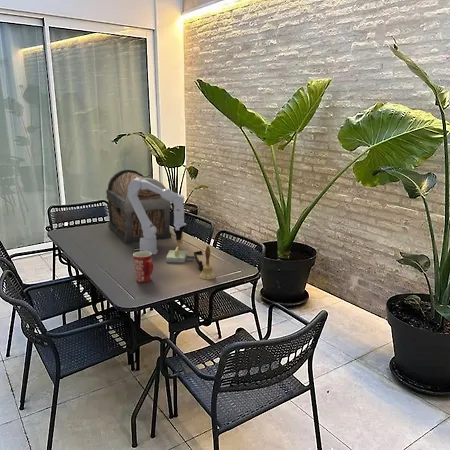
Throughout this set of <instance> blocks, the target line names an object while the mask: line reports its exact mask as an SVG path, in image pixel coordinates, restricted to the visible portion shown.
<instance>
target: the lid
mask: <svg viewBox="0 0 450 450" xmlns="http://www.w3.org/2000/svg"><path fill="white" fill-rule="evenodd" d="M186 253H187V254H188V250H180V246H176V247H175V250H171V249H169V251H168V253H167V255H166V258H165V260H166V259H185V256H186Z"/></svg>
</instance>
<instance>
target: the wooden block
mask: <svg viewBox="0 0 450 450" xmlns="http://www.w3.org/2000/svg"><path fill="white" fill-rule="evenodd" d="M183 243H184V230H183V231H182V235H181V240H177V239H176V238H175V244H177V245H179V244H180V245H182V244H183Z"/></svg>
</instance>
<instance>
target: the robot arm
mask: <svg viewBox="0 0 450 450" xmlns="http://www.w3.org/2000/svg"><path fill="white" fill-rule="evenodd" d="M140 189H141V190H144V189H148V190H151V191H153V192H155V193H158V194H160V195H161V197H162V198H163V199H165V200H167V201H169V202H171V204H173V226H174V227H173V229H172V230H173V232H174V234H175V240H176V239H177V240H181V235H182V231H183V232H184V229H185V227H186V225H187V223H185V208H184V207H185V205H184V202H185V197H184V196H183V195H182V194H181V193H180V194H179V193H178V192H174V191H172V190H171V188H166V189H164V190H163V189H161V188H159V187H157V186H156V185H154V184H152V183H150V182H148V181H147V180H144V179H142V178H139V177H138V178H135V179H134V180H132V181H131V182H130V184H129V186H128V198H129V200H130V202H131V204H132V206H133V208H134V210H135V212H136V214H137V217H138V219H139V221H140V223H141V225H142V230H143V236H144V237H143V238H140V242H139V251H148V252H151V253H152V255H157V254H158V252H159V249H157V240H156V235H155V233H156V232H157V229H156V227H155V226H154V225H153V224H152V222H151V221H150V220H149V218H148V216H147V214H146V212H145V210H144V208H143V206H142V204H141V202H140V200H139V198H138V194H139V191H140Z"/></svg>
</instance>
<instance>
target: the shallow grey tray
mask: <svg viewBox="0 0 450 450" xmlns="http://www.w3.org/2000/svg"><path fill="white" fill-rule="evenodd" d="M187 256H188V252H187V253H186V256H185V259H166V258H165V262H166V263H167V264H168V263H169V264H171V263H172V264H185V263H186V259H187Z"/></svg>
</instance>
